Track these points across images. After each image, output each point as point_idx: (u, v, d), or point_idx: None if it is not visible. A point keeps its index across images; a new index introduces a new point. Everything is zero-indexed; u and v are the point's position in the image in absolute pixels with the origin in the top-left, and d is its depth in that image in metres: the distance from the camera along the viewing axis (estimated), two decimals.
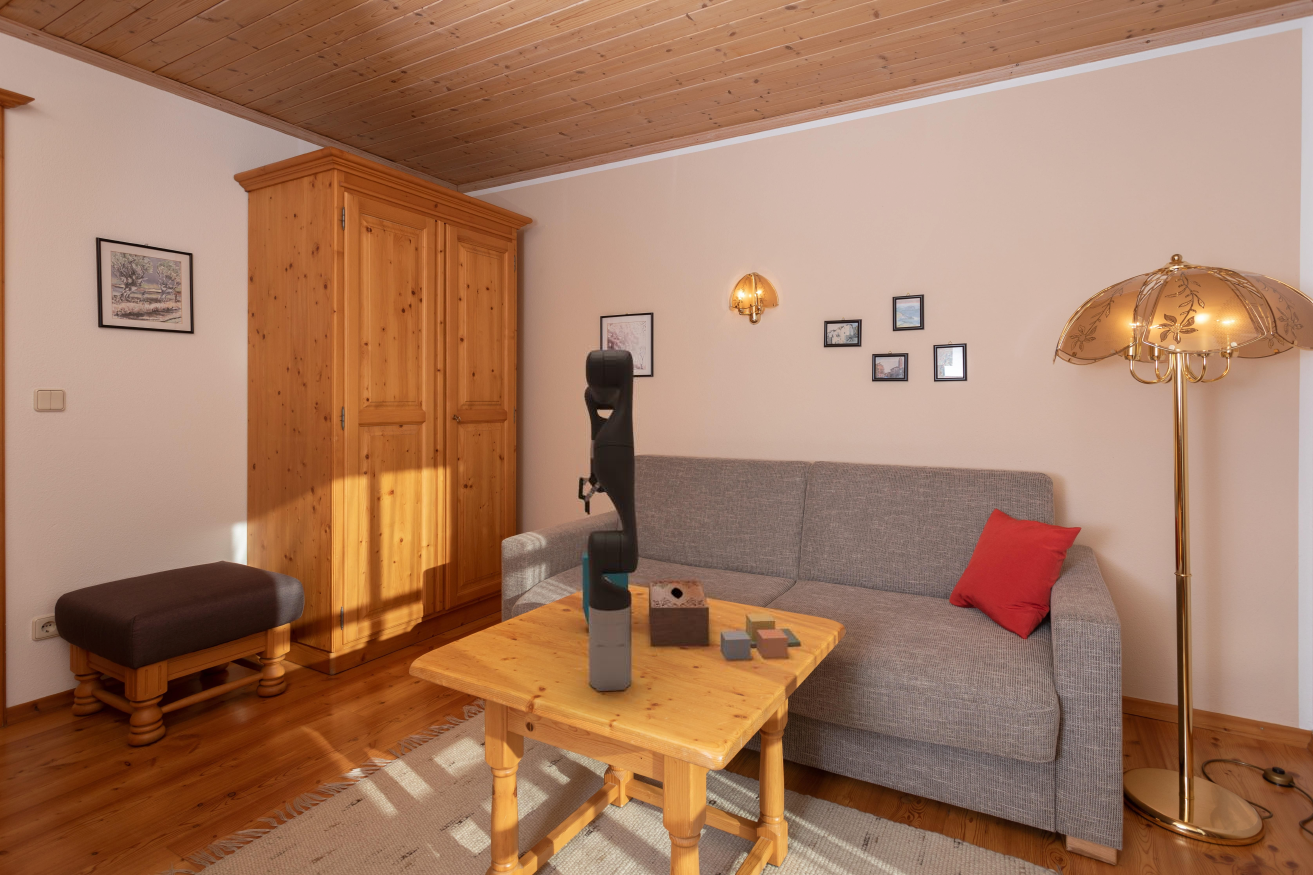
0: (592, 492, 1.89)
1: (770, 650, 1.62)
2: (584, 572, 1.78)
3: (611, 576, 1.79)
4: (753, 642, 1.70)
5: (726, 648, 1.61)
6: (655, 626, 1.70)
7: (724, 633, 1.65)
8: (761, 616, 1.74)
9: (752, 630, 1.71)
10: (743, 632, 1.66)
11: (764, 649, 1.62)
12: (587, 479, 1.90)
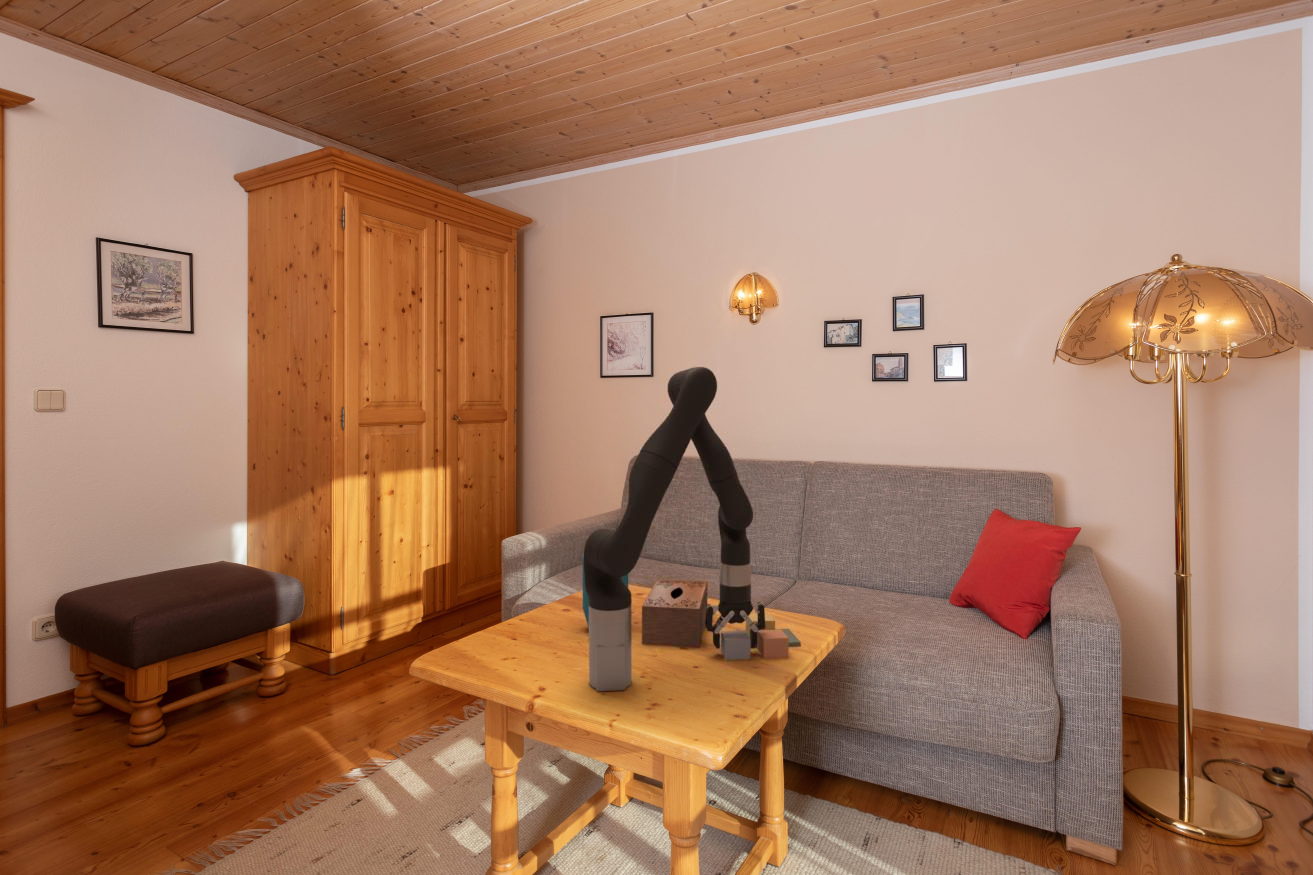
0: (723, 623, 1.62)
1: (771, 650, 1.62)
2: None
3: None
4: None
5: (726, 648, 1.61)
6: (646, 624, 1.71)
7: (724, 633, 1.65)
8: None
9: None
10: (743, 632, 1.66)
11: (765, 649, 1.62)
12: (717, 608, 1.63)
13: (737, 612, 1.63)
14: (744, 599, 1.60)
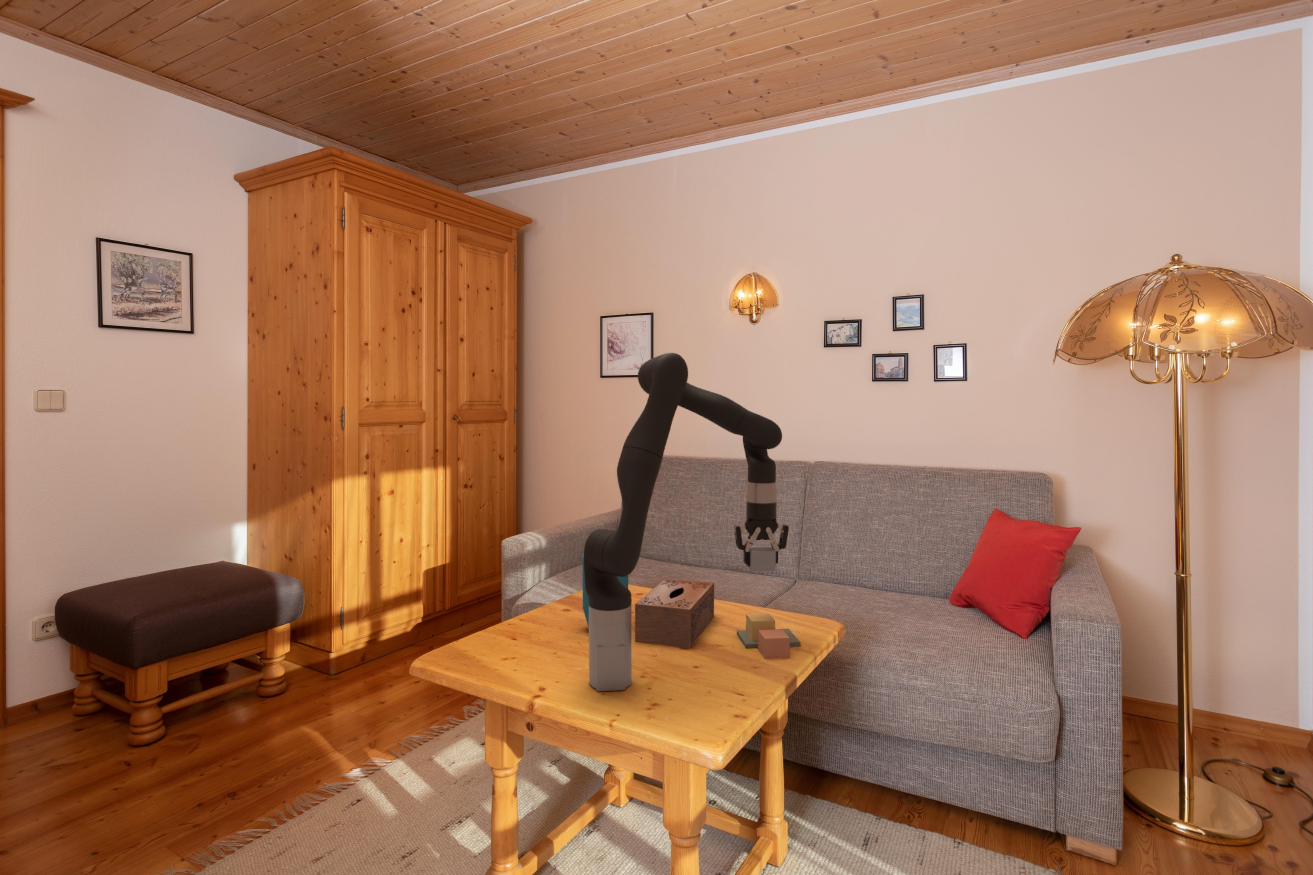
0: (752, 541, 1.71)
1: (772, 650, 1.62)
2: None
3: None
4: (753, 642, 1.70)
5: (752, 559, 1.70)
6: (639, 622, 1.72)
7: None
8: (761, 616, 1.74)
9: (752, 630, 1.71)
10: (768, 546, 1.75)
11: (766, 649, 1.62)
12: (743, 526, 1.71)
13: (763, 529, 1.71)
14: (770, 515, 1.69)
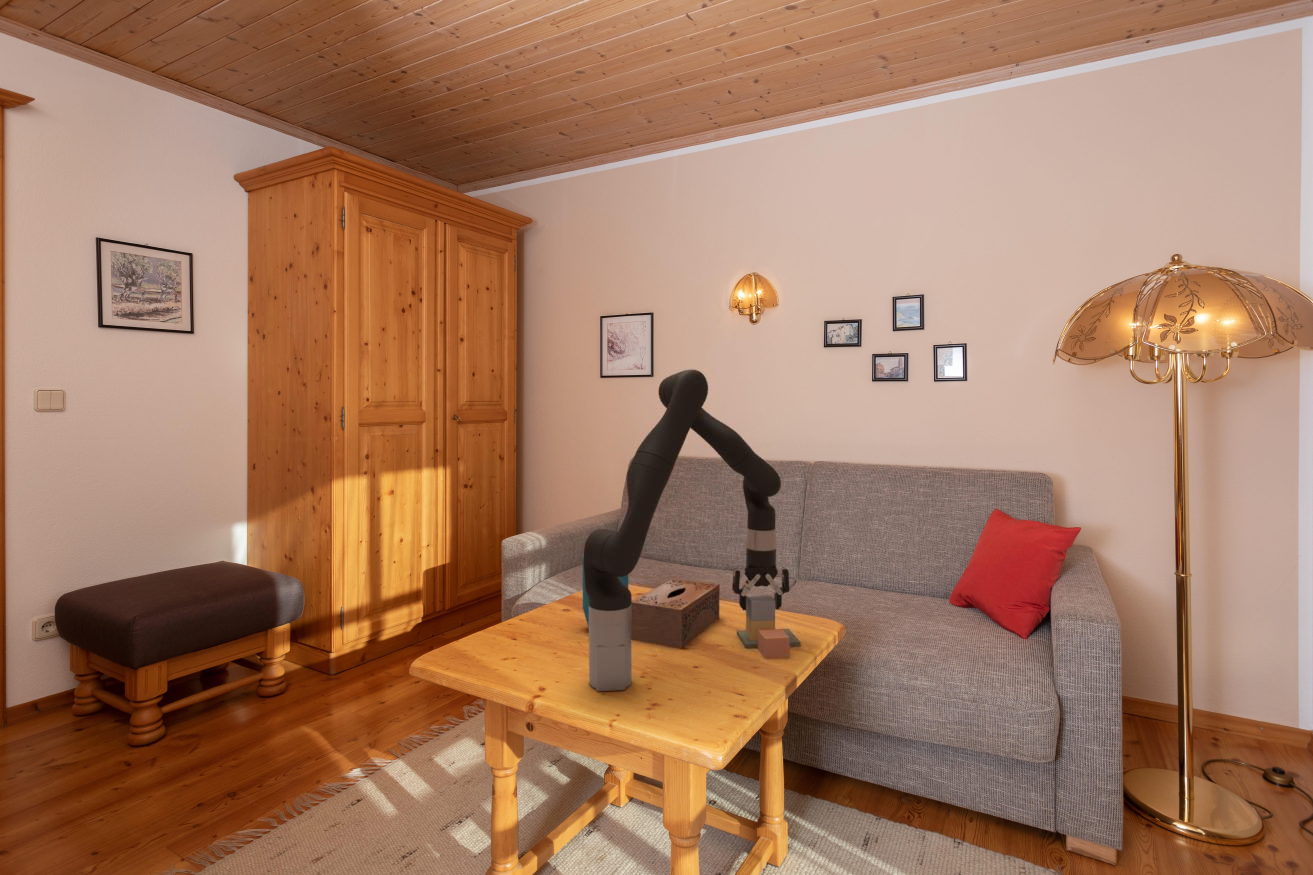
0: (750, 586, 1.71)
1: (772, 650, 1.62)
2: None
3: None
4: (753, 642, 1.70)
5: (752, 609, 1.70)
6: (633, 620, 1.74)
7: (749, 596, 1.74)
8: None
9: (752, 630, 1.71)
10: (768, 595, 1.75)
11: (766, 649, 1.62)
12: (743, 571, 1.72)
13: (763, 576, 1.72)
14: (770, 563, 1.70)
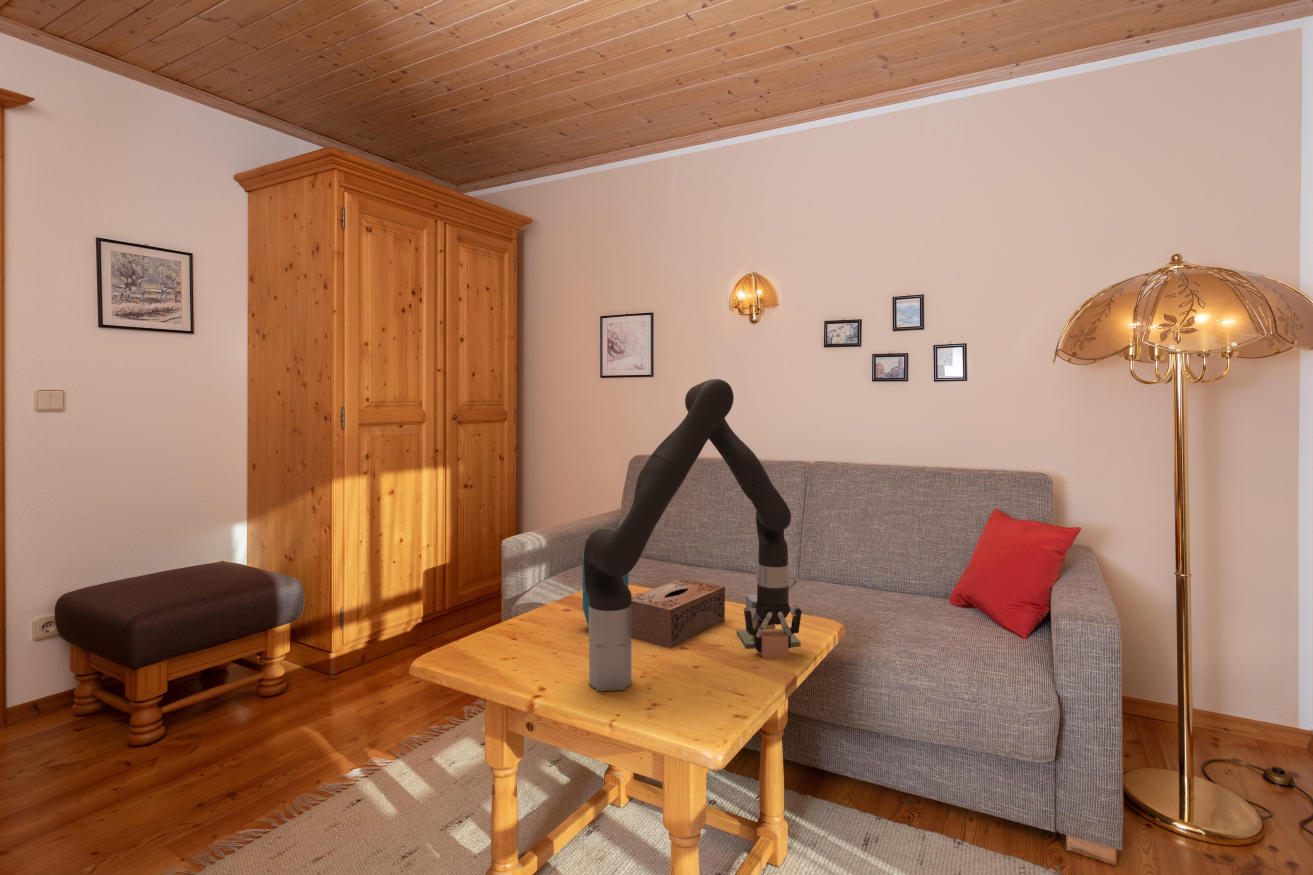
0: (763, 626, 1.63)
1: (771, 650, 1.62)
2: None
3: None
4: (753, 642, 1.70)
5: None
6: None
7: (749, 596, 1.74)
8: None
9: None
10: None
11: (765, 649, 1.62)
12: (754, 610, 1.64)
13: (775, 613, 1.64)
14: (782, 600, 1.61)
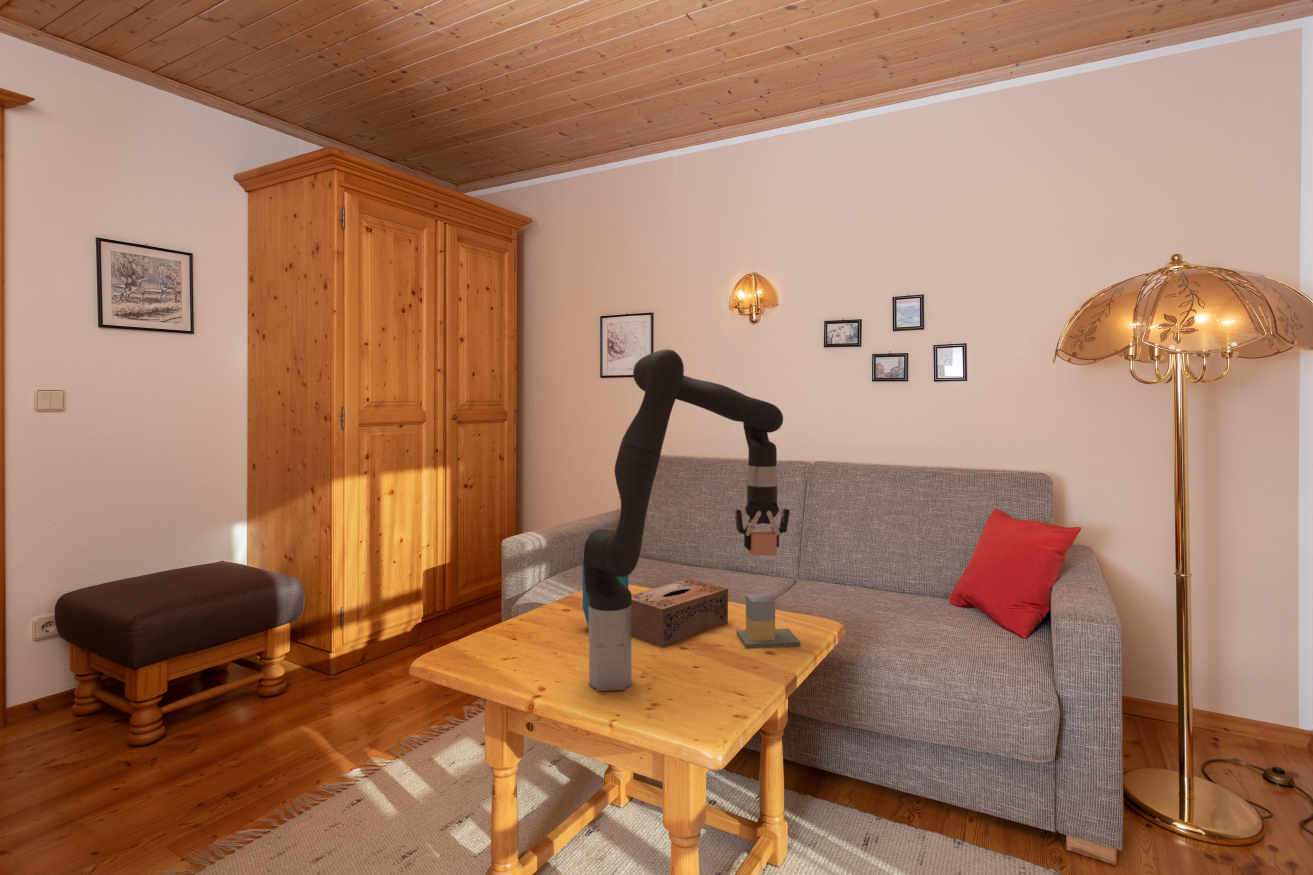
0: (753, 524, 1.70)
1: (760, 547, 1.69)
2: None
3: None
4: (753, 642, 1.70)
5: (752, 609, 1.70)
6: None
7: (749, 596, 1.74)
8: None
9: (752, 630, 1.71)
10: (768, 595, 1.75)
11: (754, 545, 1.69)
12: (744, 510, 1.71)
13: (764, 513, 1.71)
14: (771, 499, 1.68)
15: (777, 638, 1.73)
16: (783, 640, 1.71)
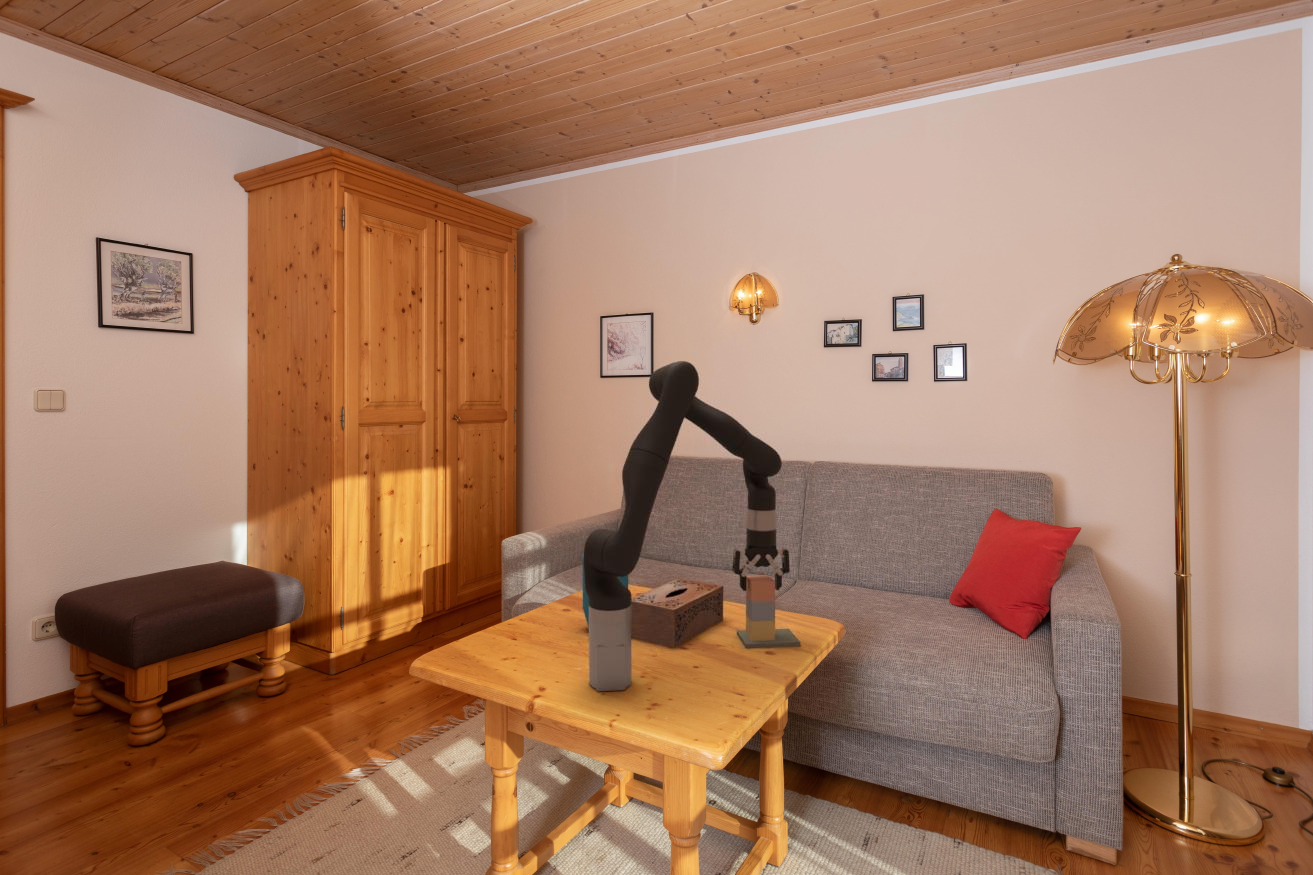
0: (750, 566, 1.71)
1: (758, 593, 1.70)
2: None
3: None
4: (753, 642, 1.70)
5: (752, 609, 1.70)
6: None
7: None
8: None
9: (752, 630, 1.71)
10: None
11: (753, 592, 1.70)
12: (743, 552, 1.72)
13: (763, 556, 1.72)
14: (770, 543, 1.69)
15: (777, 638, 1.73)
16: (783, 640, 1.71)
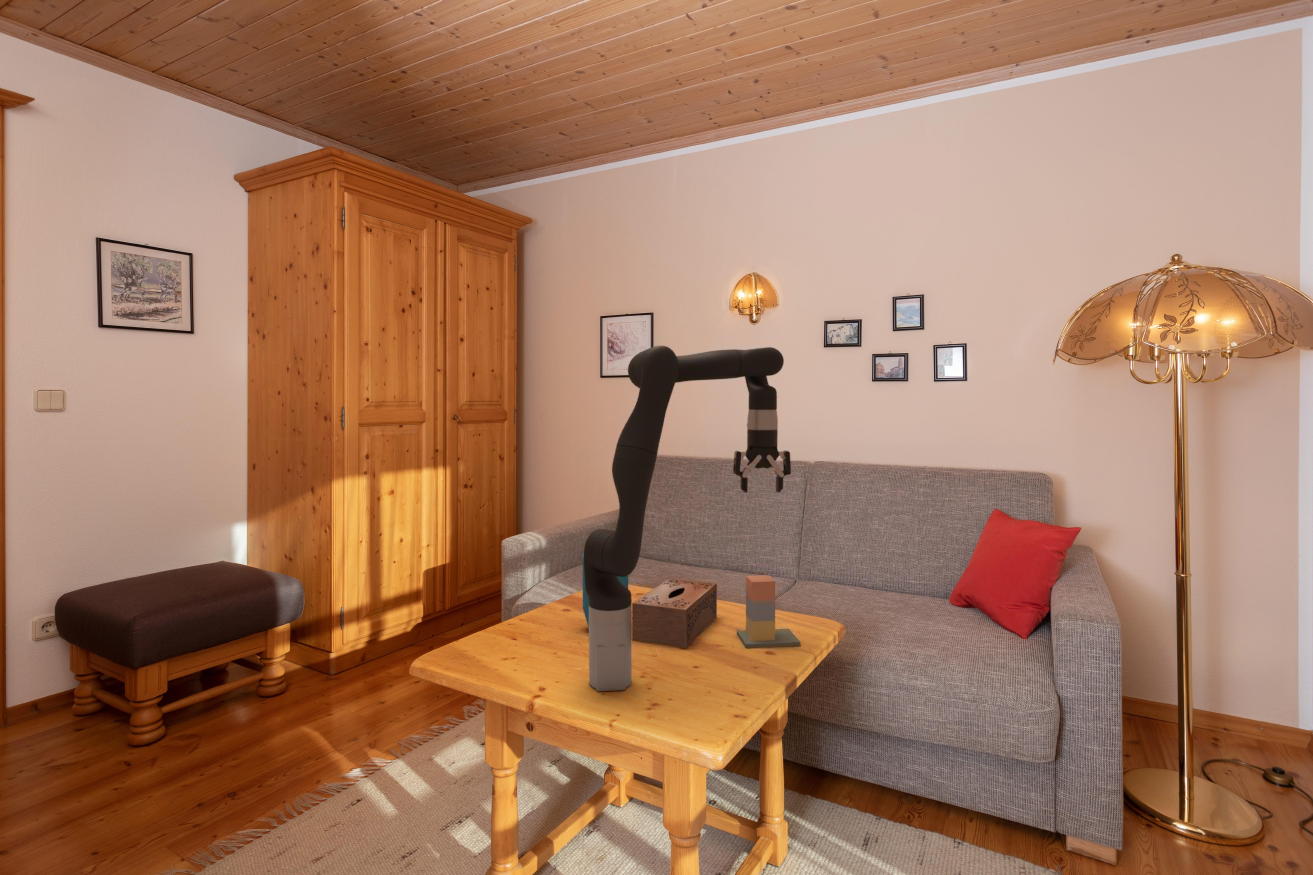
0: (751, 467, 1.69)
1: (758, 593, 1.70)
2: None
3: None
4: (753, 642, 1.70)
5: (752, 609, 1.70)
6: (636, 621, 1.73)
7: None
8: None
9: (752, 630, 1.71)
10: None
11: (753, 592, 1.70)
12: (744, 453, 1.70)
13: (764, 457, 1.70)
14: (771, 442, 1.68)
15: (777, 638, 1.73)
16: (783, 640, 1.71)
